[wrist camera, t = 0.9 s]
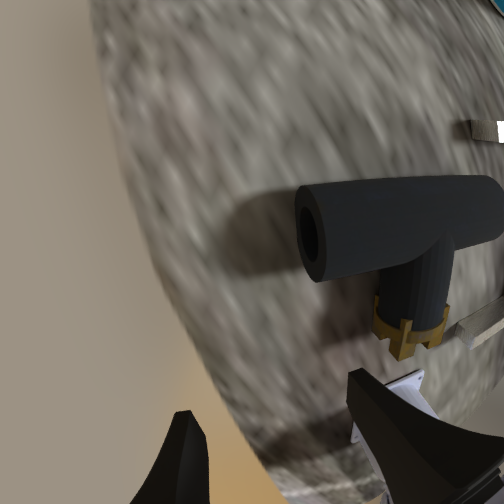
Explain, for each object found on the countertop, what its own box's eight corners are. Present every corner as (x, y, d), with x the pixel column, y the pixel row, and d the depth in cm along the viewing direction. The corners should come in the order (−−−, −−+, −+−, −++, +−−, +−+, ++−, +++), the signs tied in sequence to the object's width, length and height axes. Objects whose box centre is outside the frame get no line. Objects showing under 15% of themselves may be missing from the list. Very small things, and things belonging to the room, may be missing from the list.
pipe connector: (487, 325, 16) (325, 393, 15) (450, 298, 21) (301, 343, 20) (511, 181, 12) (324, 192, 11) (462, 171, 17) (290, 181, 16)
